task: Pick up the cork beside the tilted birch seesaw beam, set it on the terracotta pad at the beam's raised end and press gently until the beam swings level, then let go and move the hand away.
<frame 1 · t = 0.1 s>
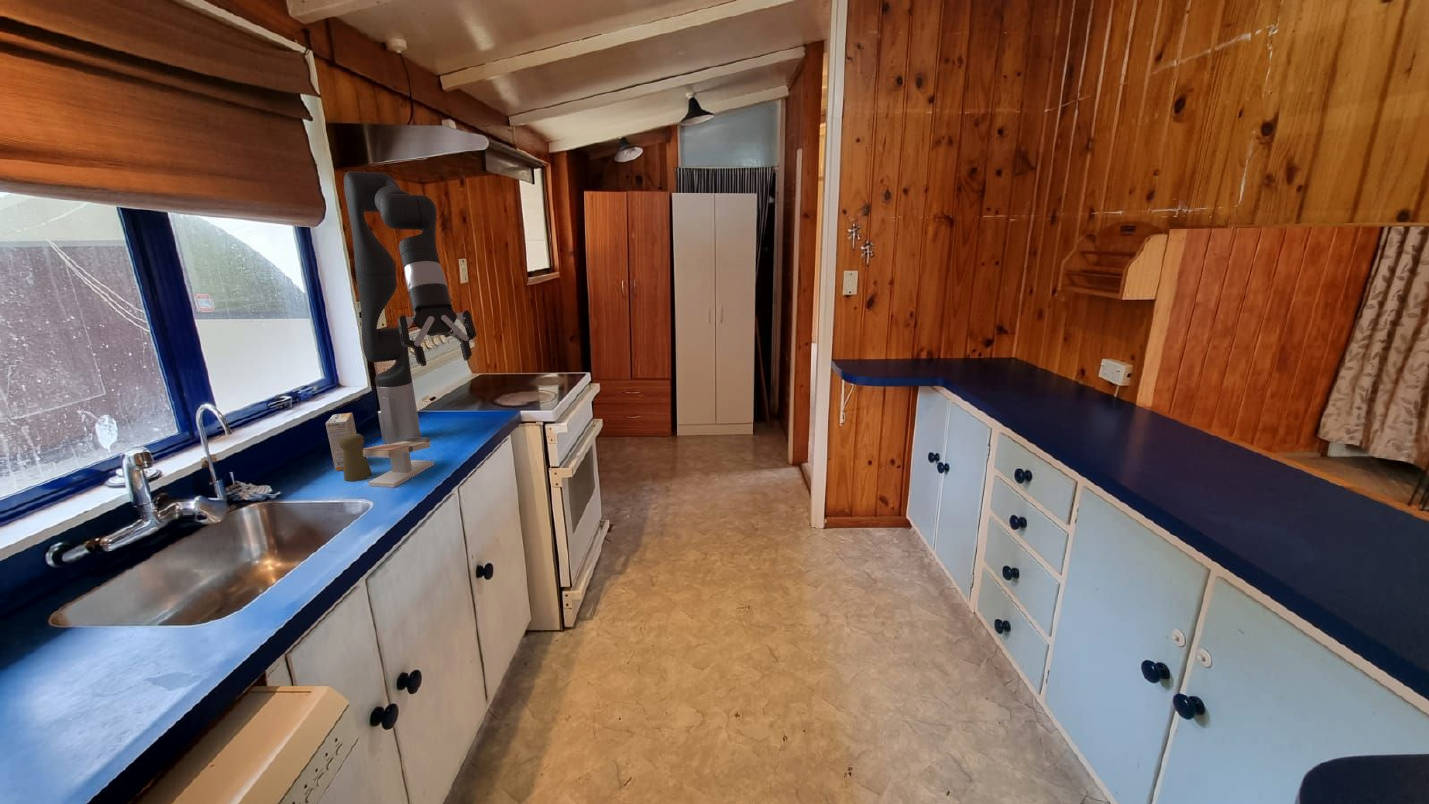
hand: (445, 362, 118), 31 cm above the counter, tool tilted 20°, fingers open, 8 cm apart
cork: (358, 477, 142), on the counter
supplement box: (348, 465, 150), on the counter
seesaw stand: (402, 474, 142), on the counter
seesaw: (398, 446, 140), point 7 cm above the counter, hinge at -10.0°
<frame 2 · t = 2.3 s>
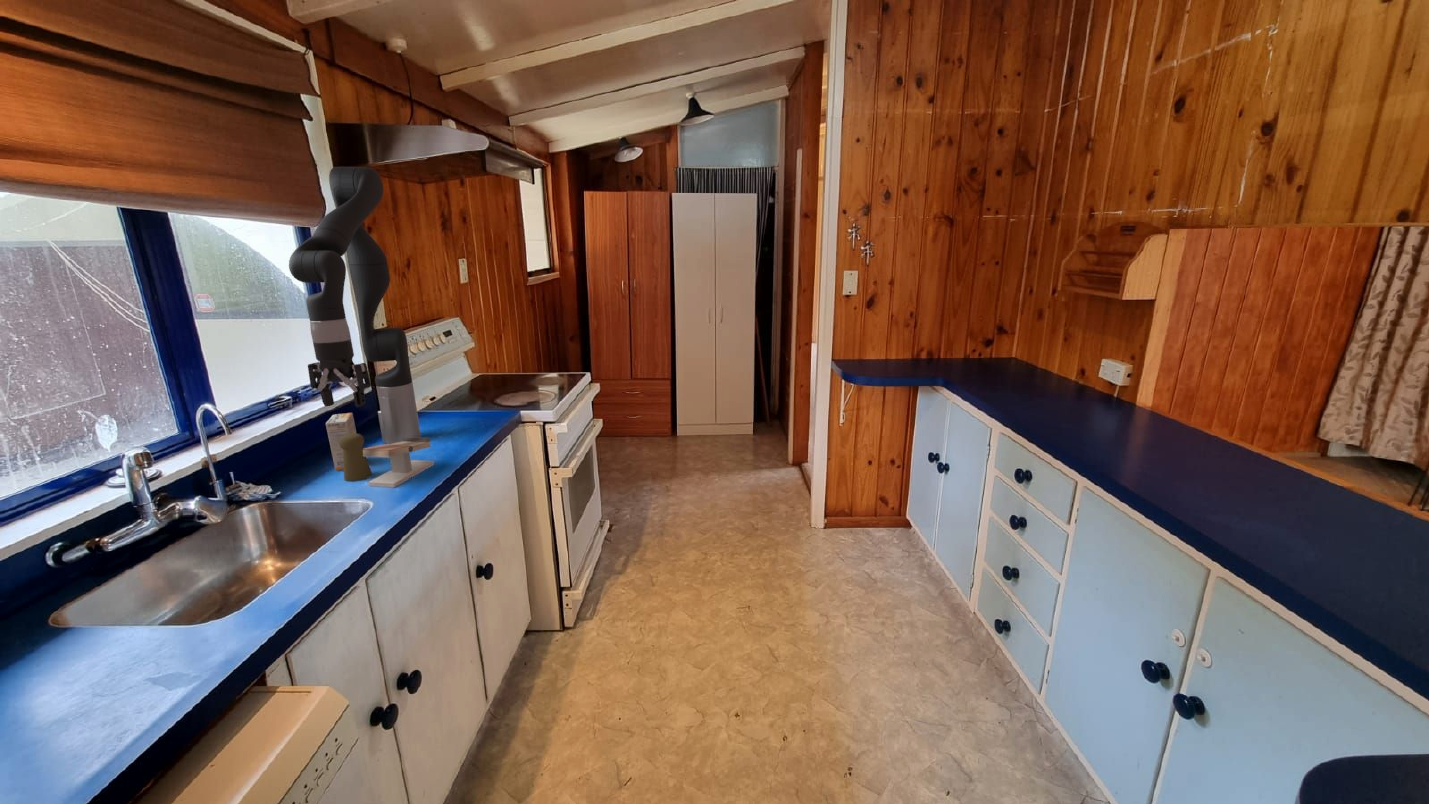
hand: (344, 405, 137), 18 cm above the counter, tool pointing down, fingers open, 8 cm apart
nothing on the counter moved.
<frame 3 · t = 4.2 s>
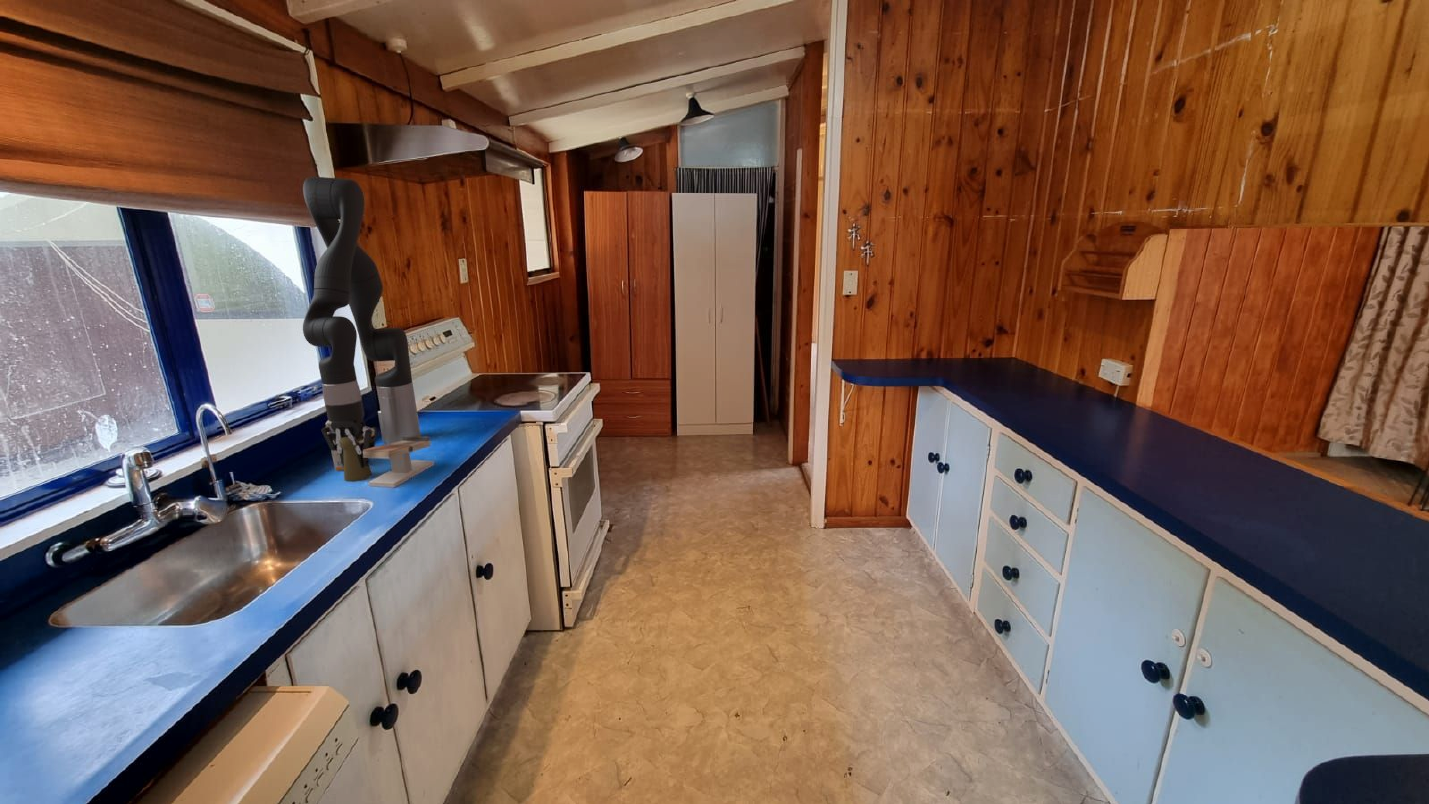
hand: (356, 466, 141), 3 cm above the counter, tool pointing down, fingers closed on cork, 4 cm apart
cork: (358, 477, 142), on the counter, touching gripper
seesaw: (398, 446, 140), point 7 cm above the counter, hinge at -7.9°
everything else where it was.
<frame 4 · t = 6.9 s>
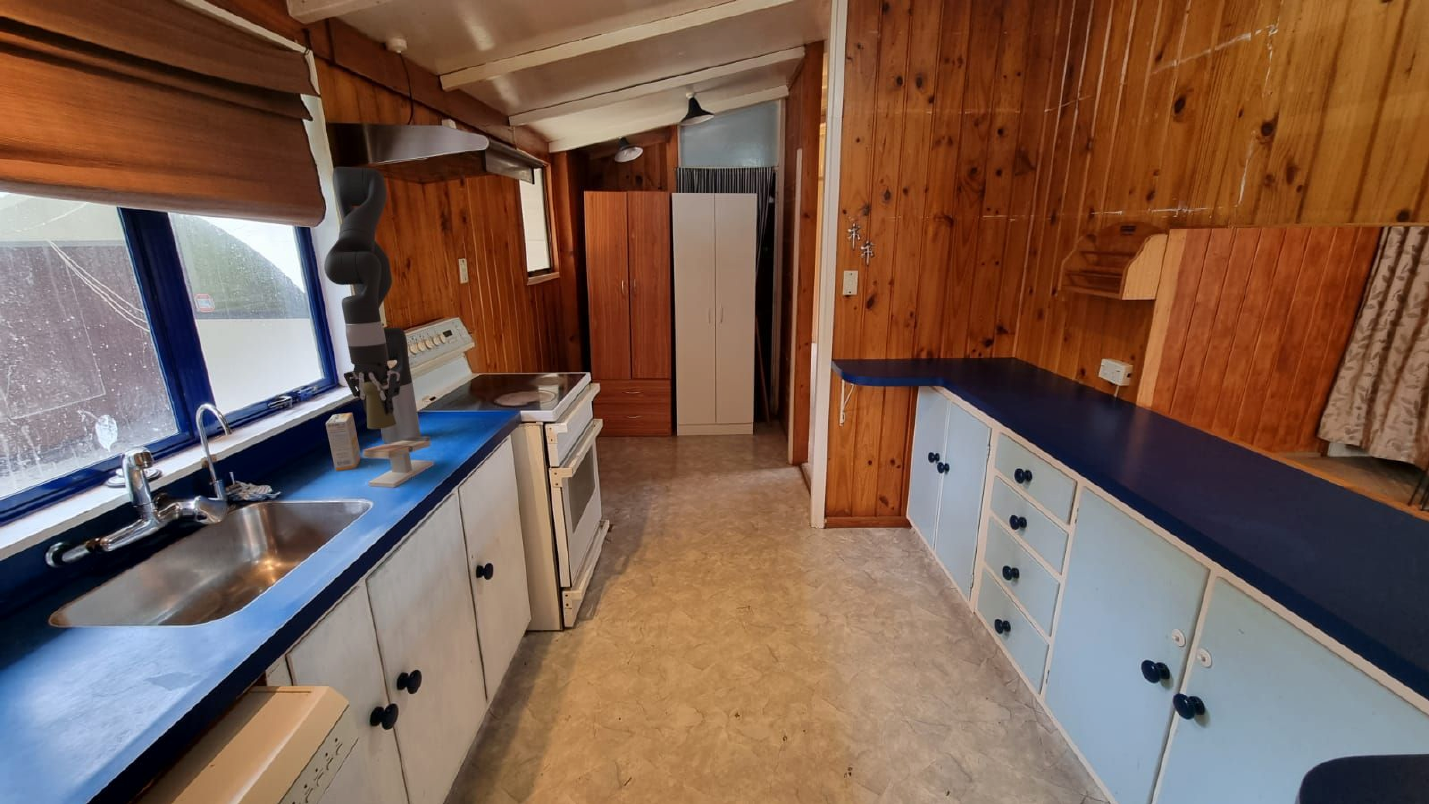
hand: (379, 413, 134), 17 cm above the counter, tool pointing down, fingers closed on cork, 4 cm apart
cork: (382, 426, 135), point 14 cm above the counter, touching gripper
everything else where it was.
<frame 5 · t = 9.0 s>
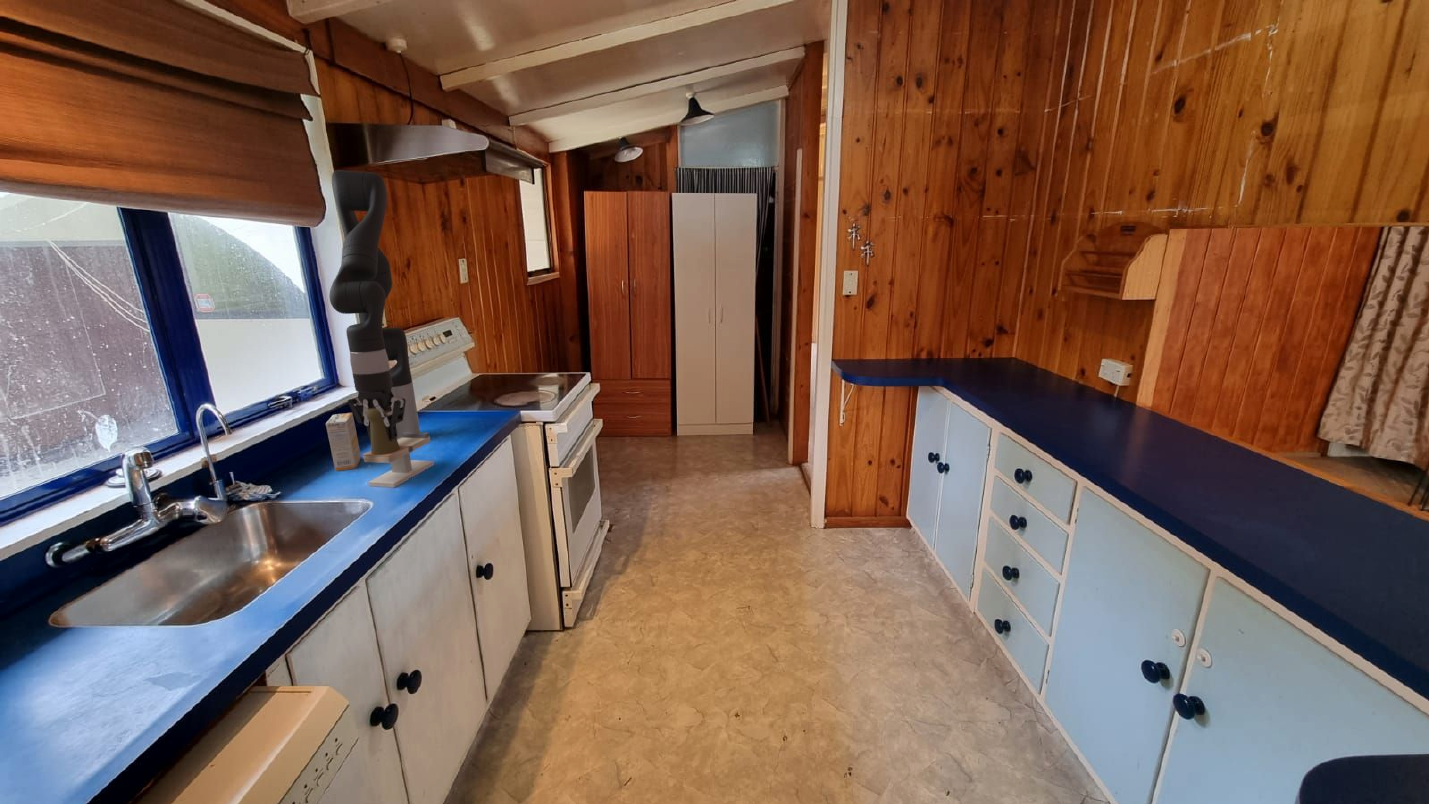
hand: (383, 439, 135), 11 cm above the counter, tool pointing down, fingers closed on cork, 4 cm apart
cork: (385, 451, 136), point 8 cm above the counter, touching gripper, seesaw
seesaw: (398, 446, 140), point 7 cm above the counter, hinge at 0.5°, touching cork
everything else where it was.
when the fingers open (11 cm above the counter, at t = 9.7 s): cork stays where it is, resting on seesaw.
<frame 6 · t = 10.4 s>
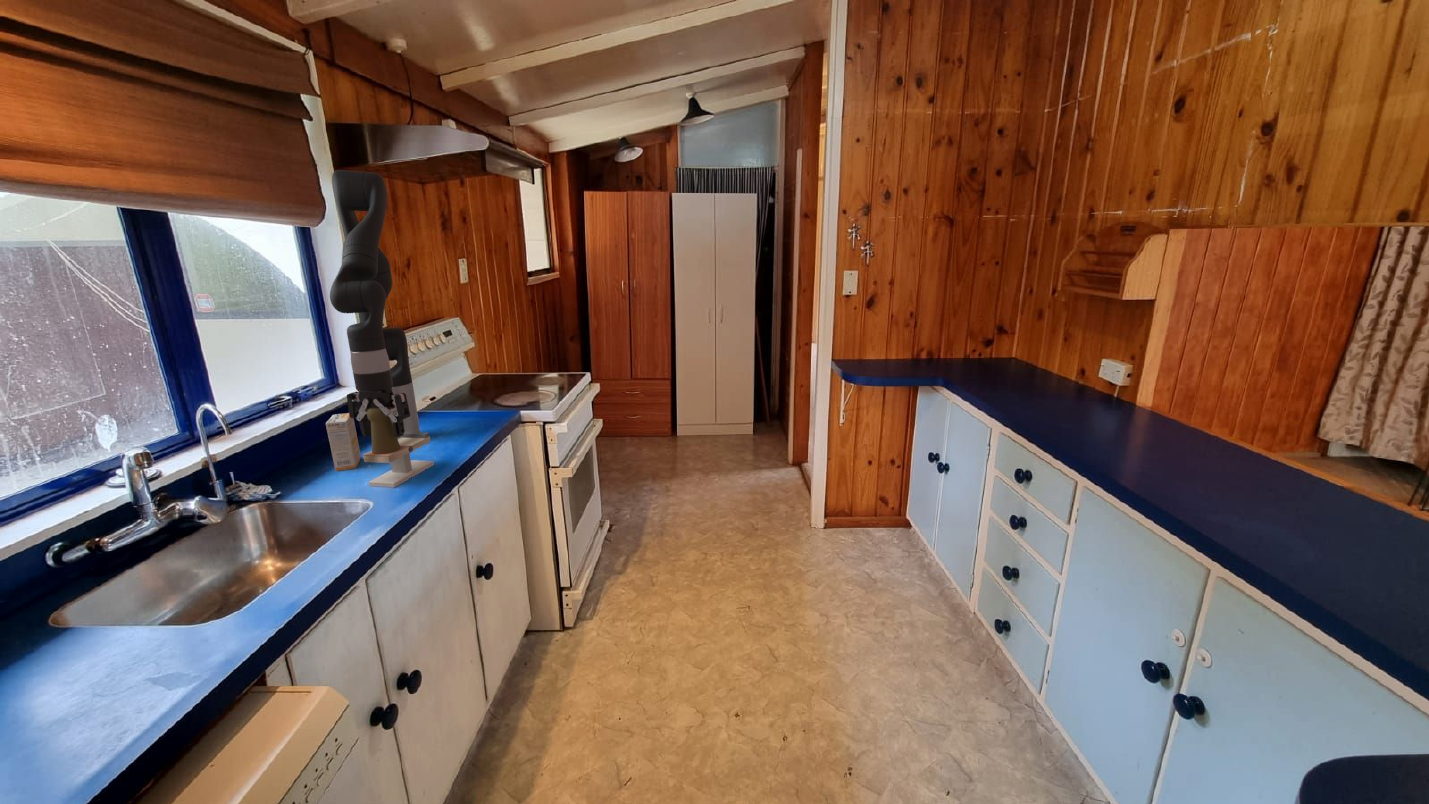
hand: (383, 435, 135), 12 cm above the counter, tool pointing down, fingers open, 8 cm apart
cork: (386, 450, 136), point 8 cm above the counter, touching seesaw
everything else where it was.
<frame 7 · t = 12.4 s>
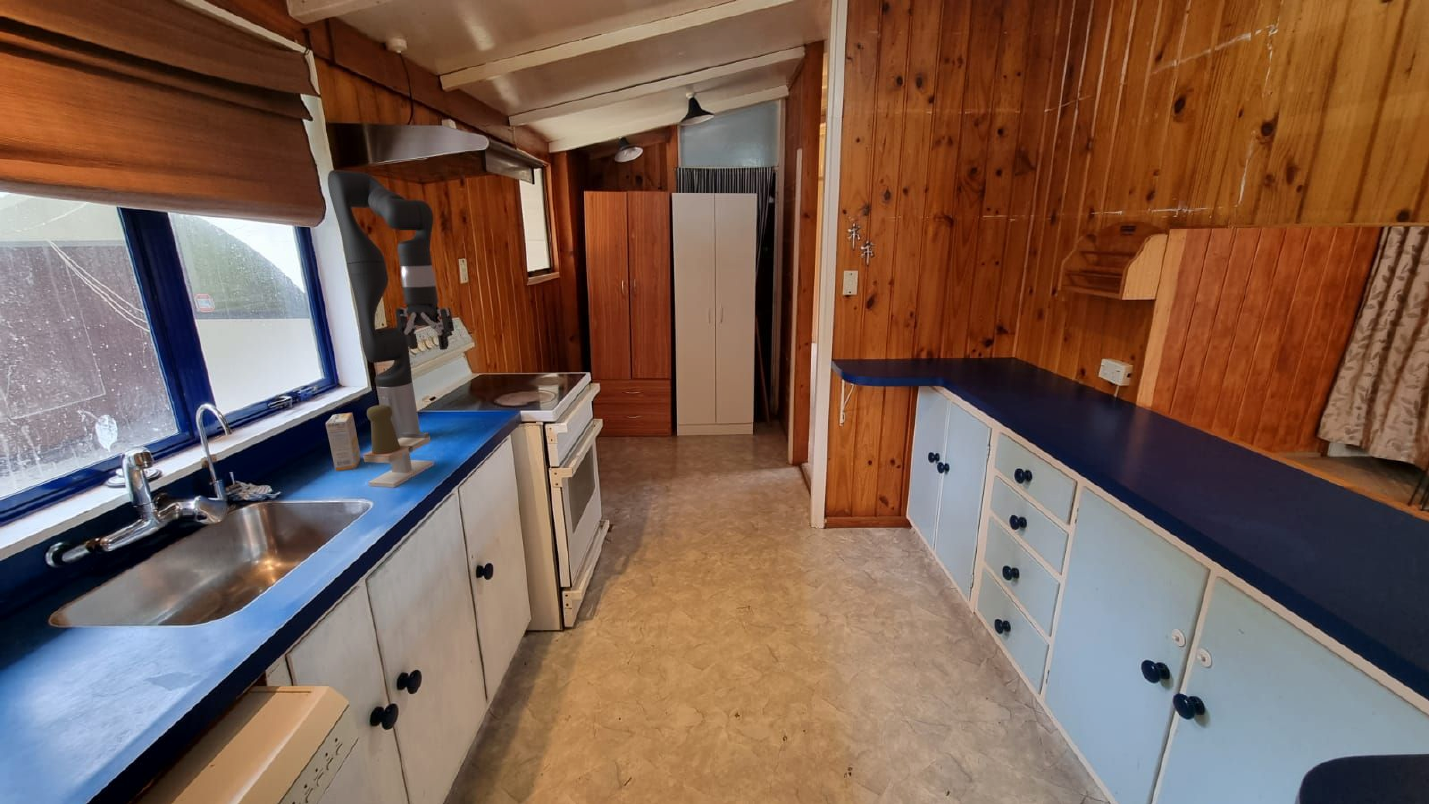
hand: (428, 349, 145), 30 cm above the counter, tool pointing down, fingers open, 8 cm apart
nothing on the counter moved.
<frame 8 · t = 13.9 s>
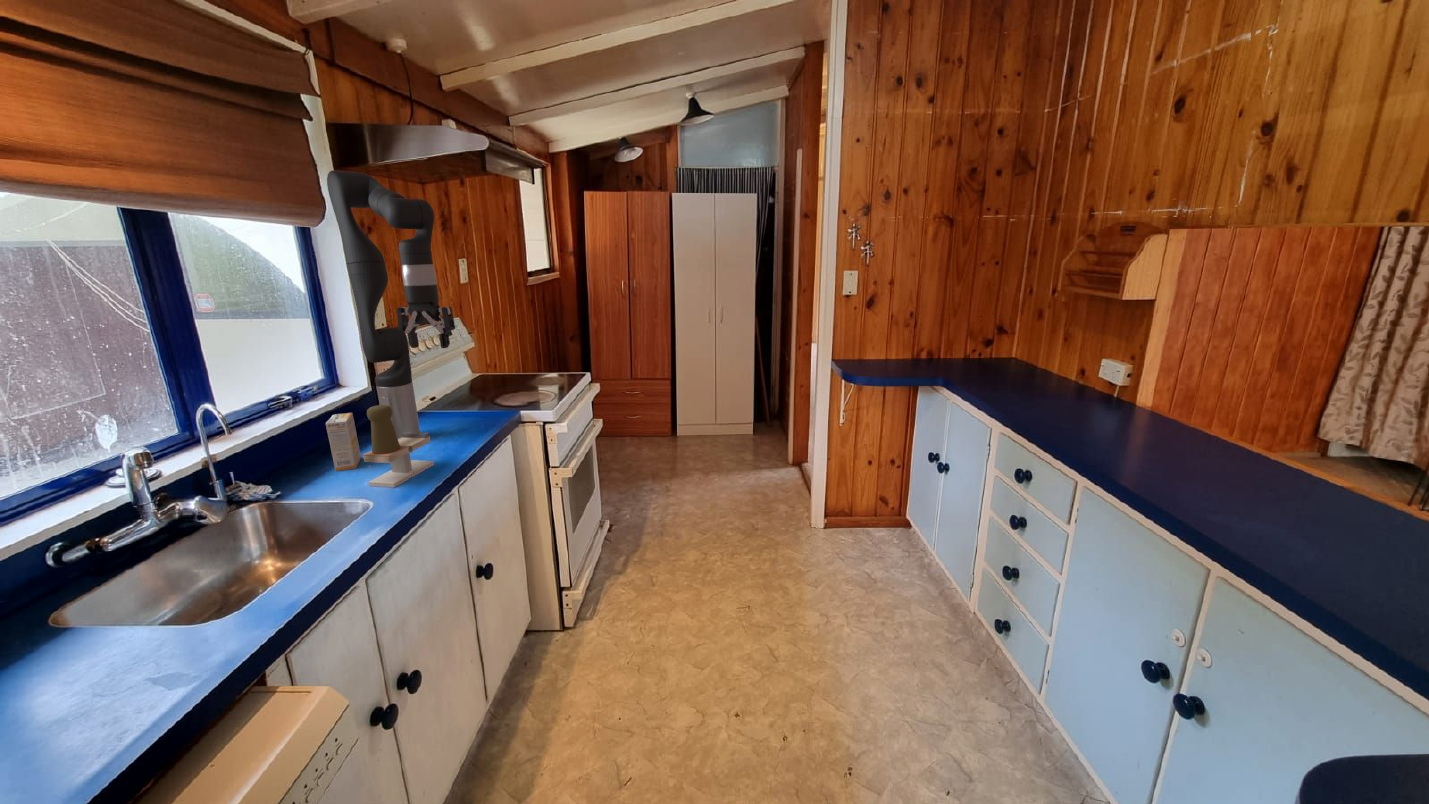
hand: (429, 347, 146), 30 cm above the counter, tool pointing down, fingers open, 8 cm apart
nothing on the counter moved.
at the end: seesaw at +0° (first picture: -10°); cork inside the target area on the seesaw (0.4 cm from its centre), point 0.8 cm above the seesaw's base; cork tilted 0° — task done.
